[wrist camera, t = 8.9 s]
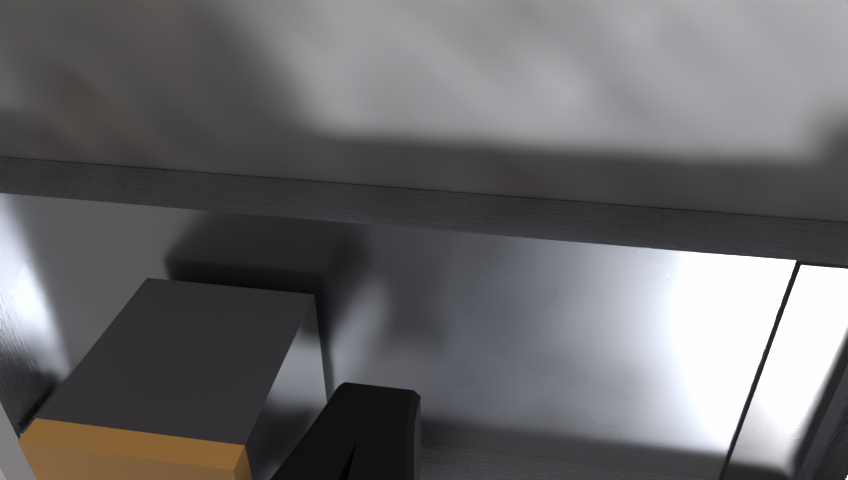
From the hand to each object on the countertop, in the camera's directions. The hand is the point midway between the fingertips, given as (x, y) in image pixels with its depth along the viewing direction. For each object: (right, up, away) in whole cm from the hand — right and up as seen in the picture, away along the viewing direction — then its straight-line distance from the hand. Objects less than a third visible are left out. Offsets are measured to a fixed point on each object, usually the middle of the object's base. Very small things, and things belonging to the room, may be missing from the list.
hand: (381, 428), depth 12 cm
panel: (-1, -2, +5) cm, 6 cm away
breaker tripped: (-3, +1, +1) cm, 3 cm away
